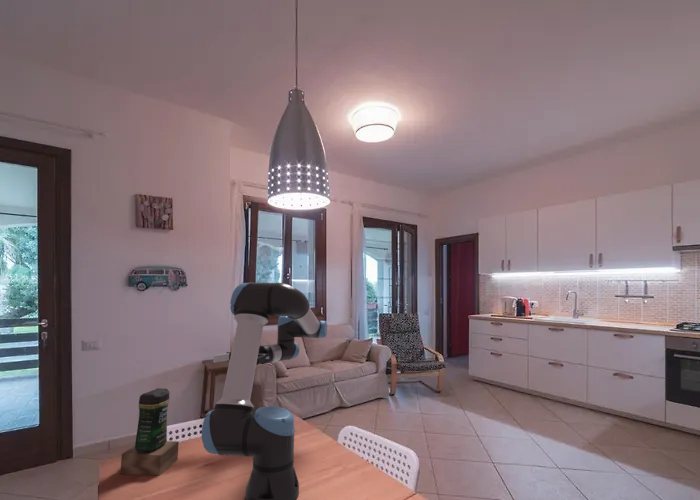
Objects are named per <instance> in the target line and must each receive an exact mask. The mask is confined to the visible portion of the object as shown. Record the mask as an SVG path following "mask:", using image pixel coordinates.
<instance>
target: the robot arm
mask: <svg viewBox="0 0 700 500" xmlns="http://www.w3.org/2000/svg"><path fill="white" fill-rule="evenodd" d="M229 304H230V311H231V313H232V315H234V317H233V319H234V320H235V322H236V323H237V324H236V328H235V329H236V330H235V334H234V337H233V338H234V339H233V342H232V348H231V352H229V351H227V352H226V353H221V354H220V353H219V354H214V355H213V360H212V361H213V363H221V362H229V363H228V367H227V372H226V376H225V382H224V385H223V392H222V396H221V398H220V399H219V400H218V401H216V403H214V409H211V410H209V411H208V412H207V413H206V415H205V417H204V419H203V421H202V426H201V441H202V444H203V448H204V450H205V451H206V452H208V453H210V454H214V455H219V456H236V457H252V470H251V472H250V475H249V478H248V482H247V485H246V488H245V497H244V498H245V500H297V498H298V496H299V494H300V483H299V480H298V475H297V472H296V470H295V466H294V459H295V452H294V451H295V432H296V429H295V417H294V415H293V413H292V412H290V410H288V409H286V408H284V407H280V406H273V405H269V406H261V407H260V406H259V407H258V408H257V409H256V410H255V411H254V409H255V406H254V404H253V403H252V401H251V398H252V392H253V385H254V381H255V376H256V375H255V374H256V369H257V366H258V365H266V364H275V363H276V362H282V361H290V360H292V359H295V358H297V357H299V354H300V346H299V344H298V342H296V341H295V339H296V338H311V339H312V338H313V339H322V338H323V339H324V338H326V336H327V334H328V323H327V320H320V319H319V320H318V318H317V316H316V315H315V313H314V312H313V310H312V308H311V307H310V302H309V299H308V297H307V296H306V295H305V294H304V293H303V292H302V291H301V290H299V289H298V288H296V287H294V286H292V285H289V284H287V283H283V282H253V281H251V282H242V283H240V284H239V285H237V286H236V287H235V288H234V290H233V291H232V294H231V298H230V302H229ZM270 317H278V320H277V338H276V339H277V341H276V342H277V343H273V344H266V345H261V339H262V335H263V334H262V333H263V328H264V326H266V325H267V324H268V323H269V319H270Z"/></svg>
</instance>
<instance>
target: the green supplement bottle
mask: <svg viewBox="0 0 700 500" xmlns="http://www.w3.org/2000/svg"><path fill="white" fill-rule="evenodd" d="M169 402H170V391H169V390H168V388H162V387H161V388H159V387H158V388H155V389H153V390H150V391H147V392H144V393H142V394H141V395H139V400H138V411H139V412H138V421H137V429H136V437H135V444H134V446H135V450H137V451H139V452H147V451H154V450H156V449H158V448H160V447H161V446H163V445H164V444H165V443H166V441H168V440H167V437H168V435H167V434H168V429H167V427H168V423H167V422H168V409H169V408H168V407H169V404H170V403H169Z"/></svg>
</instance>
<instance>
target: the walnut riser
mask: <svg viewBox="0 0 700 500" xmlns="http://www.w3.org/2000/svg"><path fill="white" fill-rule="evenodd" d="M120 459H121V460H120V472H119V473H120V474H119V475H141V476H142V475H144V476H146V475H147V476H160V475H162V474H163V473H164V472H165V471H166V470H167V469H168V468H170V467H171V466H173V464H174V463H175V462H177V461H178V459H179V441H175V440H172V441H171V440H167V441H166V443H165V444H164V445H163V446H161V447H160V448H158V449H156V450H154V451H147V452H139V451H137V450H135V445H134V446H132V447H130V448H129V449H127V450H126V451H124V452H123V453H121V457H120Z"/></svg>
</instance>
